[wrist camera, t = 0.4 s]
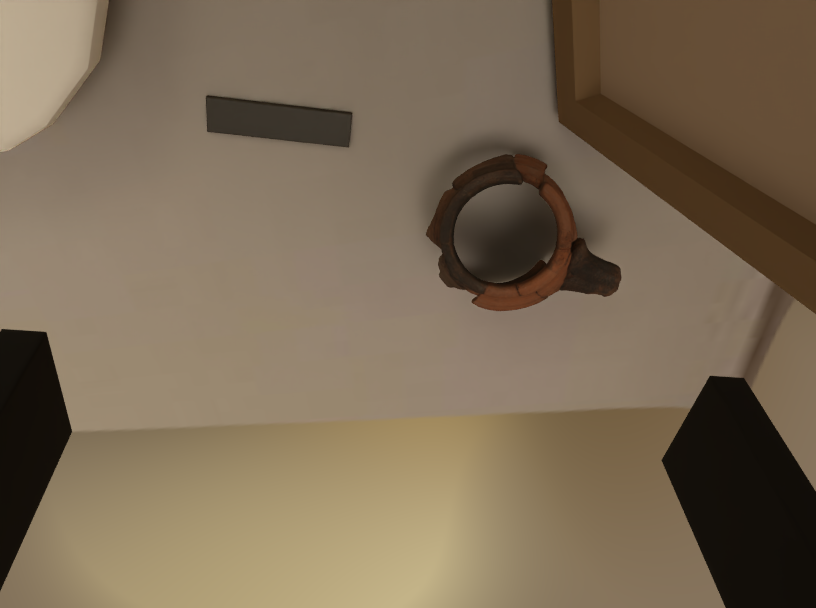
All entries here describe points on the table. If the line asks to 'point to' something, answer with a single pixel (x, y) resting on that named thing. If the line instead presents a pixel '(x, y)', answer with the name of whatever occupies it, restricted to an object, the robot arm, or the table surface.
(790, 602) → the robot arm
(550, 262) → the brown curved piece
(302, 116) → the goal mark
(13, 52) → the plate
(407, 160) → the table surface
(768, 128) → the photo frame
